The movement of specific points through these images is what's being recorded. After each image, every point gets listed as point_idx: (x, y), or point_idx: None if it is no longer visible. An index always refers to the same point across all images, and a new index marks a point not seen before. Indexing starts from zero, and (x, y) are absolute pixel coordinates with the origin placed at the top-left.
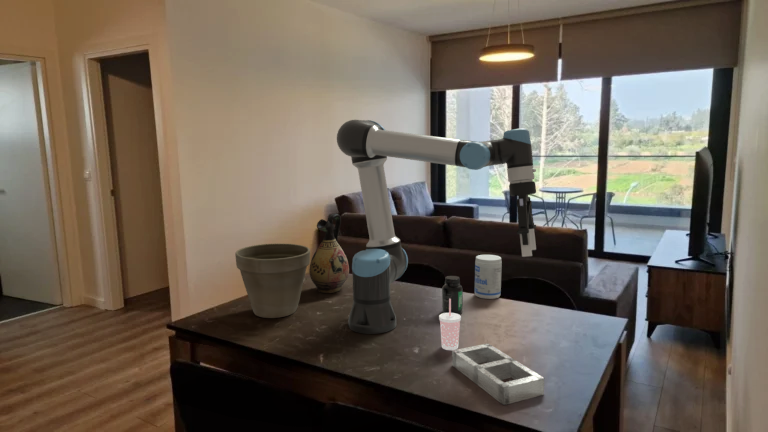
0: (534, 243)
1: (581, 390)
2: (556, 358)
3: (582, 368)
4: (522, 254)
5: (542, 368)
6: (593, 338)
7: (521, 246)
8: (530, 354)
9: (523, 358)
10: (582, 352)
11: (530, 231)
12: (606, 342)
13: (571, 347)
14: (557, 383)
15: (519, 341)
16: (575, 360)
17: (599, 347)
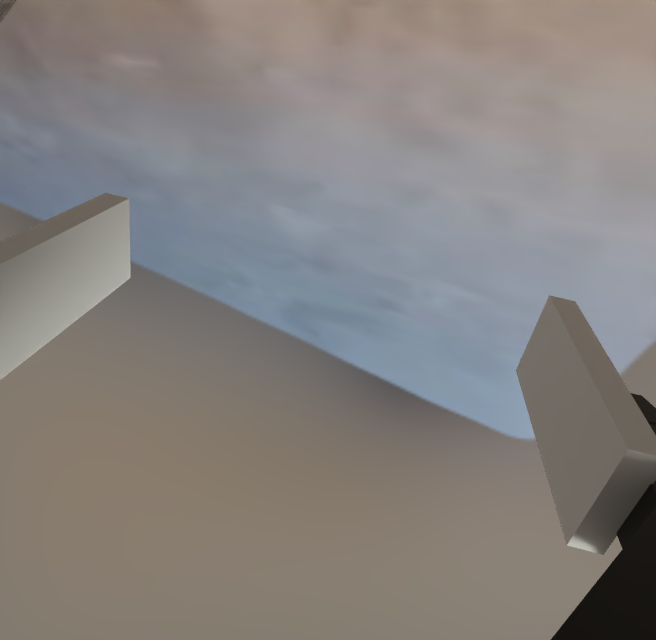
0: (531, 401)
1: (18, 195)
2: (174, 173)
3: (135, 229)
4: (94, 203)
5: (90, 116)
6: (356, 319)
7: (46, 226)
8: (176, 90)
9: (136, 59)
10: (240, 258)
11: (576, 482)
12: (329, 341)
13: (270, 237)
14: (22, 143)
15: (283, 57)
16: (178, 224)
17: (288, 312)
